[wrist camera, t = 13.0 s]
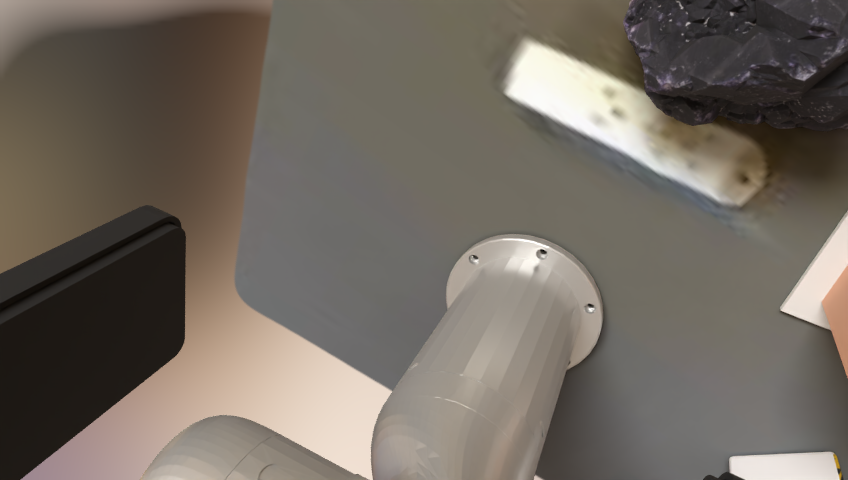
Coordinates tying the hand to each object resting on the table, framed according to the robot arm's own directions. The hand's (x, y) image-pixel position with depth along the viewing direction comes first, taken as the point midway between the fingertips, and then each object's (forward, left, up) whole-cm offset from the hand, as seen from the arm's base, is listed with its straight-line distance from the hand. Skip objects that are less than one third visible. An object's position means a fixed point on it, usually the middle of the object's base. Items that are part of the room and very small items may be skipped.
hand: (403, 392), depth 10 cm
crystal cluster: (+5, -6, -34) cm, 35 cm away
